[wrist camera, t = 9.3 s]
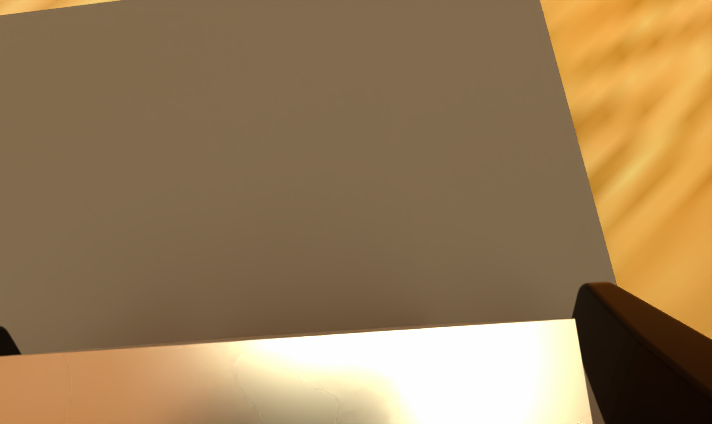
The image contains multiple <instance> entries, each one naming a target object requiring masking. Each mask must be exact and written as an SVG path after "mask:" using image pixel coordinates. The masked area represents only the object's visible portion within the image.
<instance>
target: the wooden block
mask: <svg viewBox="0 0 712 424" xmlns="http://www.w3.org/2000/svg"><path fill="white" fill-rule="evenodd" d="M0 424H593V423H592V417H591V411H590V405H589V399H588V394H587V388H586V382H585V376H584V370H583V364H582V358H581V352H580V347H579V341H578V335H577V329H576V323H575V319H557V320H532V321H507V322H482V323H457V324H432V325H417V326H402V327H386V328H371V329H356V330H341V331H326V332H311V333H296V334H281V335H266V336H251V337H236V338H221V339H208V340H195V341H183V342H171V343H158V344H146V345H133V346H121V347H108V348H96V349H84V350H71V351H59V352H46V353H34V354H21V355H9V356H0Z"/></svg>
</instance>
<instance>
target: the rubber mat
mask: <svg viewBox="0 0 712 424" xmlns="http://www.w3.org/2000/svg"><path fill="white" fill-rule="evenodd" d="M591 282H611V283H613V284H615V285H617V284H616V280H615V276H614V273H613V269H612V265H611V262H610V258H609V254H608V251H607V247H606V243H605V240H604V236H603V232H602V228H601V225H600V221H599V217H598V214H597V210H596V206H595V203H594V199H593V195H592V192H591V188H590V184H589V180H588V177H587V173H586V169H585V166H584V162H583V158H582V155H581V151H580V147H579V144H578V140H577V136H576V132H575V129H574V125H573V121H572V118H571V114H570V110H569V107H568V103H567V99H566V96H565V92H564V88H563V84H562V81H561V77H560V73H559V70H558V66H557V62H556V59H555V55H554V51H553V48H552V44H551V40H550V36H549V33H548V29H547V25H546V22H545V18H544V14H543V11H542V7H541V3H540V0H120V1H112V2H104V3H96V4H88V5H80V6H72V7H64V8H56V9H48V10H40V11H32V12H24V13H16V14H8V15H0V326H2V327H4V328H5V329H7V331H8V332H9V334H10V335H11V337H12V339H13V340H14V342H15V344H16V345H17V347H18V349H19V350H20V352H21V354H34V353H46V352H59V351H71V350H84V349H96V348H108V347H121V346H133V345H146V344H158V343H171V342H183V341H195V340H208V339H221V338H236V337H251V336H266V335H281V334H296V333H311V332H326V331H341V330H356V329H371V328H386V327H402V326H417V325H432V324H457V323H482V322H507V321H532V320H557V319H571V318H572V314H573V310H574V306H575V302H576V297H577V293H578V290H579V288H580V286H581V285H582V284H585V283H591ZM583 370H584V367H583ZM584 376H585V382H586V388H587V394H588V399H589V405H590V411H591V417H592V423H593V424H605V423H604V420H603V418H602V415H601V413H600V410H599V408H598V405H597V402H596V399H595V397H594V394H593V391H592V389H591V386H590V383H589V381H588V378H587V375H586V372H585V370H584Z"/></svg>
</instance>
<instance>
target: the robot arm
mask: <svg viewBox="0 0 712 424" xmlns="http://www.w3.org/2000/svg"><path fill="white" fill-rule="evenodd" d="M571 319H575V323H576V329H577V335H578V341H579V347H580V352H581V358H582V364H583V367H584V370H585V372H586V375H587V378H588V381H589V383H590V386H591V389H592V391H593V394H594V397H595V399H596V402H597V405H598V408H599V410H600V413H601V415H602V418H603V420H604V423H605V424H712V339H710V338H708V337H706V336H705V335H703V334H701V333H699V332H698V331H696V330H694V329H692V328H691V327H689V326H687V325H685V324H683V323H682V322H680V321H678V320H676V319H675V318H673V317H671V316H669V315H668V314H666V313H664V312H662V311H661V310H659V309H657V308H655V307H654V306H652V305H650V304H648V303H646V302H645V301H643V300H641V299H639V298H638V297H636V296H634V295H632V294H631V293H629V292H627V291H625V290H624V289H622V288H620V287H618V286H617V285H615V284H613V283H611V282H591V283H585V284H582V285H581V286H580V288H579V290H578V293H577V297H576V302H575V306H574V310H573V314H572V318H571ZM9 355H21V352H20V350H19V349H18V347H17V345H16V344H15V342H14V340H13V339H12V337H11V335H10V334H9V332H8V331H7V329H5V328H4V327H2V326H0V356H9Z"/></svg>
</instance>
